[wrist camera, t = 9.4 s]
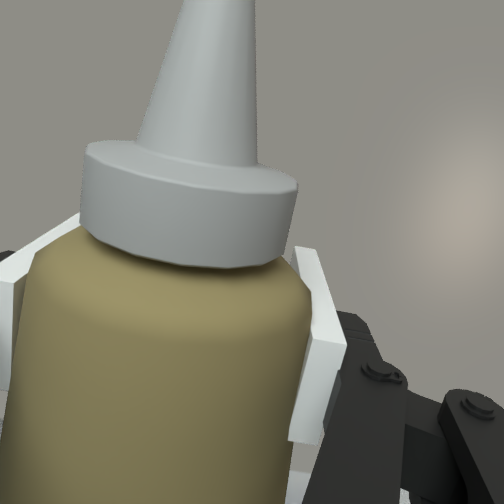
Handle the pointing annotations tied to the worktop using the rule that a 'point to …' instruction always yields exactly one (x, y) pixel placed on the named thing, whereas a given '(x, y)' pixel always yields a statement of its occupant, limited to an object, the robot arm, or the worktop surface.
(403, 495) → the worktop surface
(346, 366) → the robot arm
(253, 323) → the squeeze bottle
